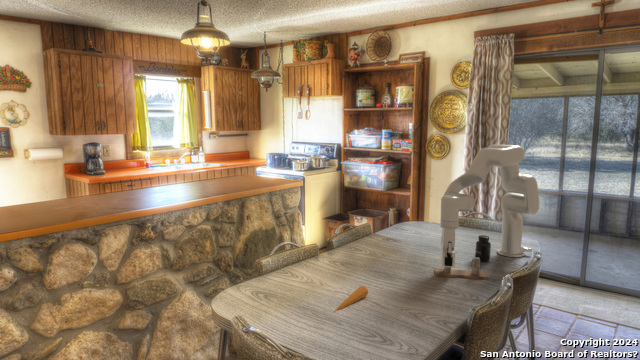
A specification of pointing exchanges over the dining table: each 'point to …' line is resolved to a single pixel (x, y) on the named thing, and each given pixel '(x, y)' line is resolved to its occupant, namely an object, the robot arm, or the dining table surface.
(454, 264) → the cream rectangular block
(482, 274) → the post strip
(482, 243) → the supplement bottle
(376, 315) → the dining table surface
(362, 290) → the carrot
